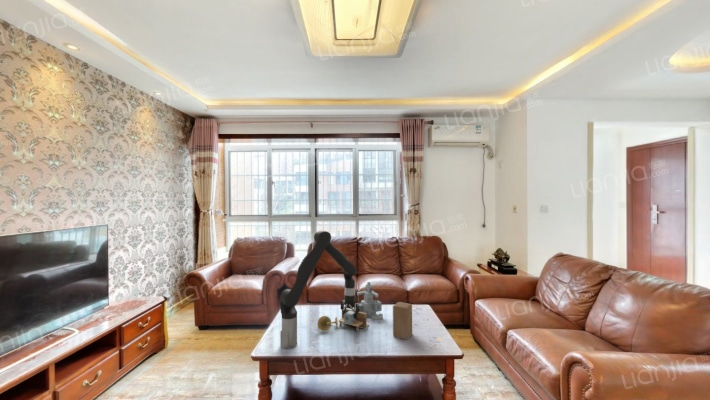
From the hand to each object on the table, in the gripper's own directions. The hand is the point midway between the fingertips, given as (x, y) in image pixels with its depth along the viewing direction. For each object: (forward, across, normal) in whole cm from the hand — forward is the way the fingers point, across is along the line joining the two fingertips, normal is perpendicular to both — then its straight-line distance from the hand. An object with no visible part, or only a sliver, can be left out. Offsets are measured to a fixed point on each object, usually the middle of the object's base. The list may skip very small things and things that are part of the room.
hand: (349, 317), depth 199 cm
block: (+7, +36, +8) cm, 38 cm away
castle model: (+7, 0, +23) cm, 24 cm away
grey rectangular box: (+3, 0, 0) cm, 3 cm away
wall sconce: (+7, -18, -4) cm, 20 cm away
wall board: (+7, 0, +4) cm, 8 cm away
